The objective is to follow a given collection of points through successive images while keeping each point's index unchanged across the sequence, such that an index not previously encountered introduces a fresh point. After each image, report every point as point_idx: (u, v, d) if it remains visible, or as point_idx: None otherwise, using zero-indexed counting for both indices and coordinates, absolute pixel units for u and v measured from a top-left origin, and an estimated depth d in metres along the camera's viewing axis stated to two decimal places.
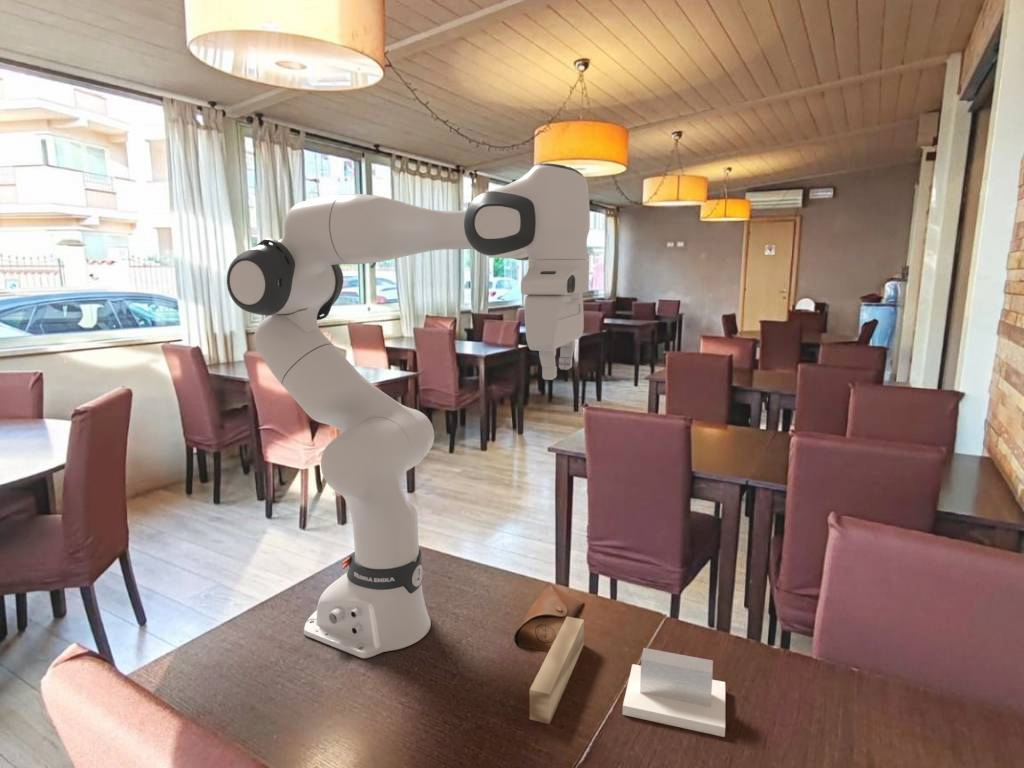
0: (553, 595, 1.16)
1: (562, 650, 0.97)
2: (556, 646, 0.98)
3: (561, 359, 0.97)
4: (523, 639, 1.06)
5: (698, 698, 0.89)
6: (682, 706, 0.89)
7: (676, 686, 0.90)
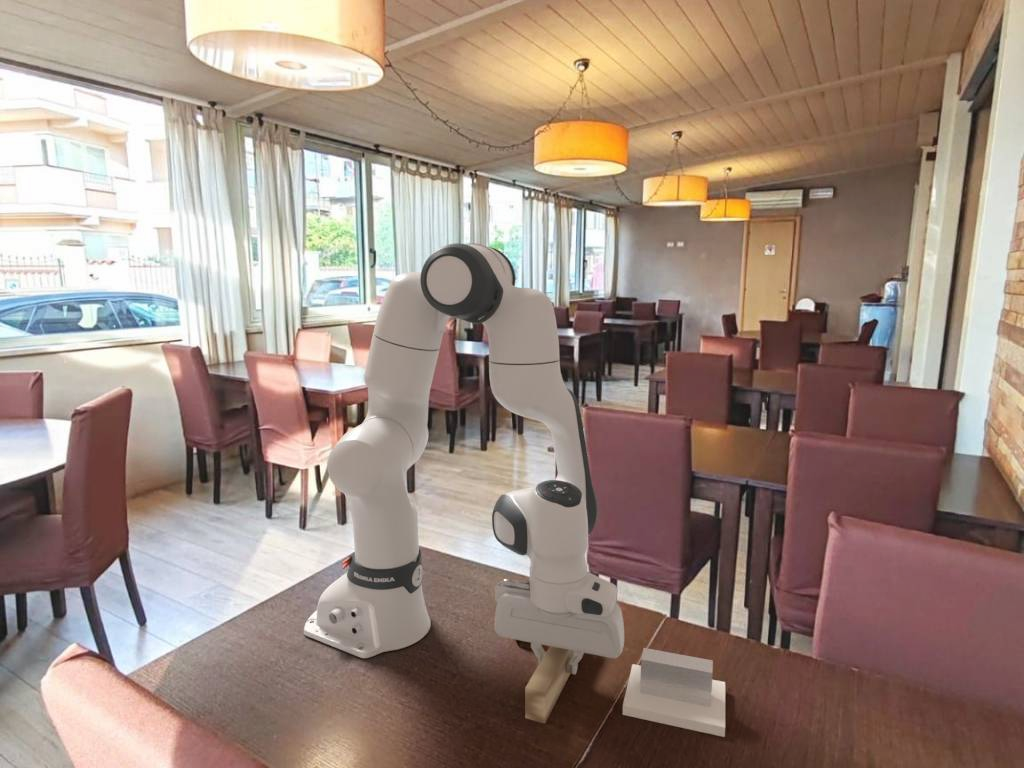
0: None
1: (560, 649, 0.97)
2: None
3: None
4: None
5: (698, 698, 0.89)
6: (682, 706, 0.89)
7: (676, 686, 0.90)
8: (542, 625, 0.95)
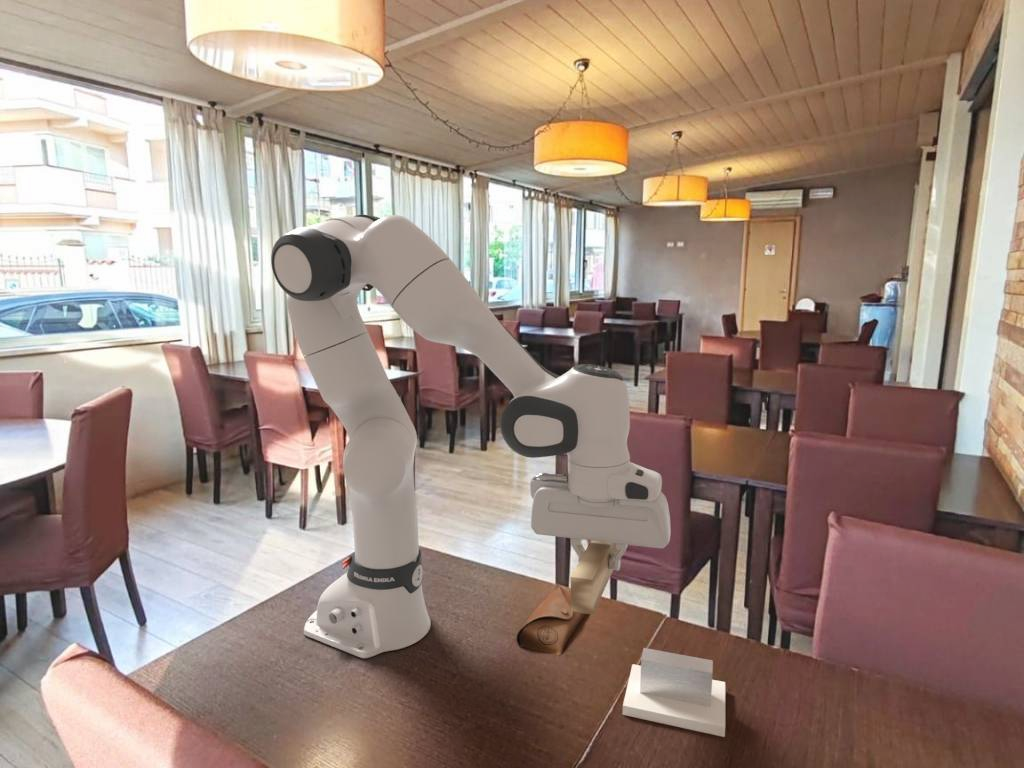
0: (560, 597, 1.15)
1: (601, 545, 0.91)
2: (595, 541, 0.92)
3: None
4: (525, 639, 1.06)
5: (698, 698, 0.89)
6: (682, 706, 0.89)
7: (676, 686, 0.90)
8: (583, 518, 0.89)
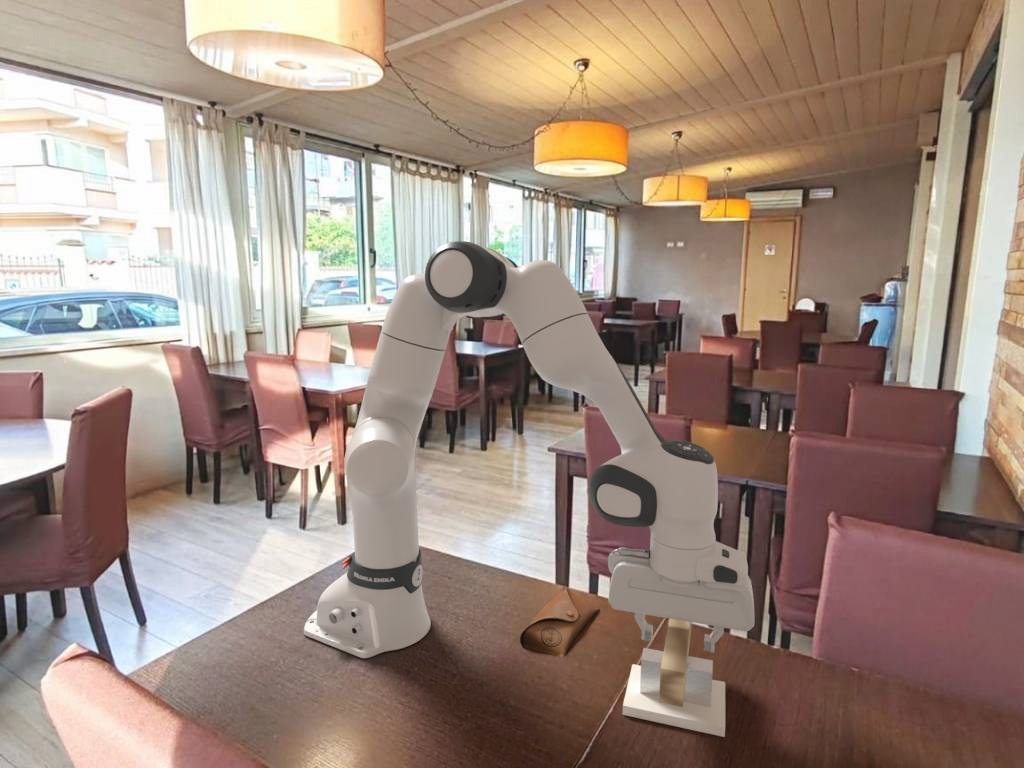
0: (566, 599, 1.14)
1: (681, 627, 0.90)
2: (673, 623, 0.91)
3: (651, 631, 0.91)
4: (528, 641, 1.05)
5: (698, 698, 0.89)
6: None
7: None
8: (664, 596, 0.88)
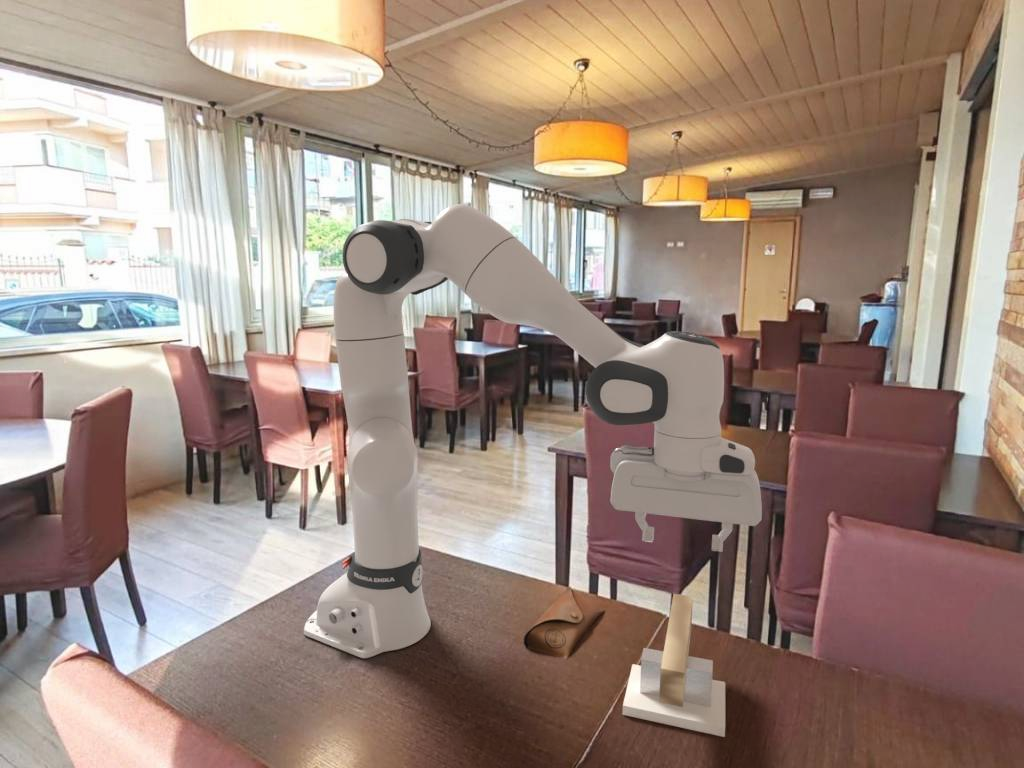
0: (570, 600, 1.14)
1: (681, 627, 0.90)
2: (673, 623, 0.91)
3: None
4: (532, 642, 1.05)
5: (698, 698, 0.89)
6: None
7: None
8: (668, 493, 0.85)
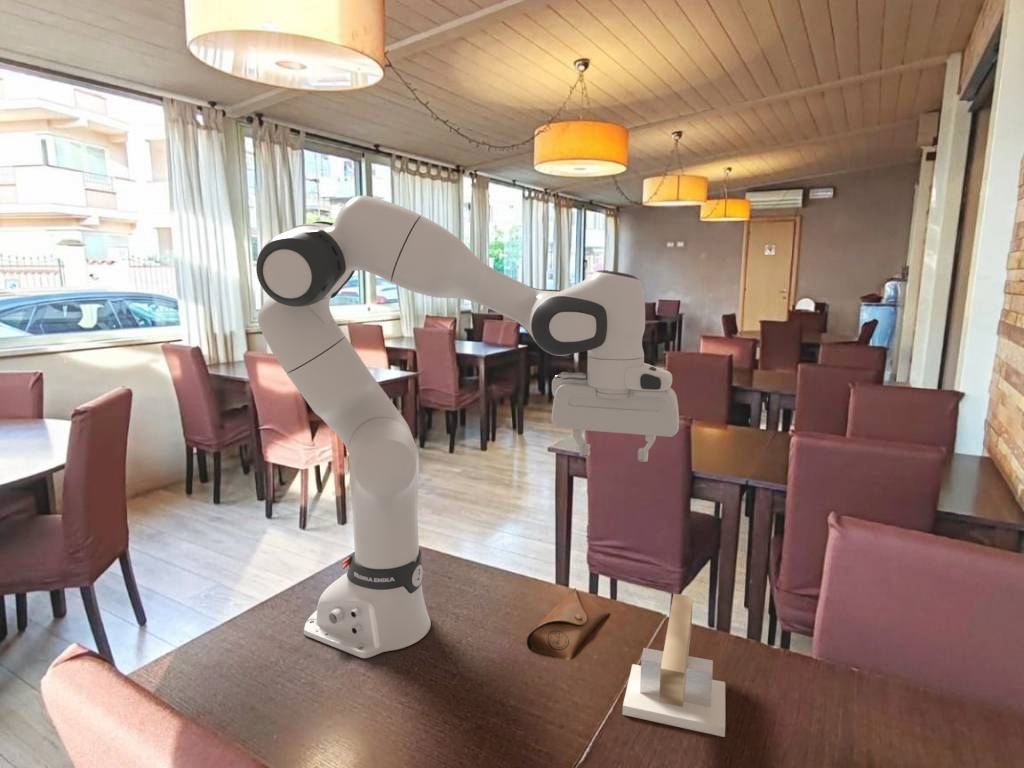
0: (575, 602, 1.13)
1: (681, 627, 0.90)
2: (673, 623, 0.91)
3: (587, 447, 1.01)
4: (535, 643, 1.05)
5: (698, 698, 0.89)
6: None
7: None
8: (600, 411, 0.98)
